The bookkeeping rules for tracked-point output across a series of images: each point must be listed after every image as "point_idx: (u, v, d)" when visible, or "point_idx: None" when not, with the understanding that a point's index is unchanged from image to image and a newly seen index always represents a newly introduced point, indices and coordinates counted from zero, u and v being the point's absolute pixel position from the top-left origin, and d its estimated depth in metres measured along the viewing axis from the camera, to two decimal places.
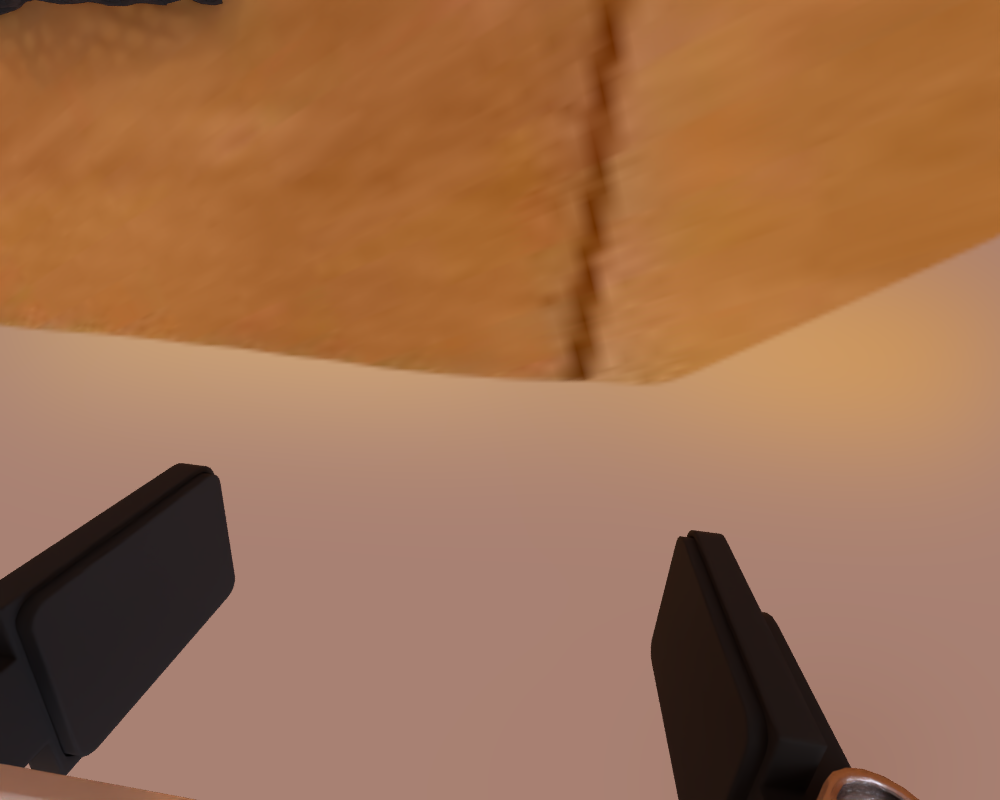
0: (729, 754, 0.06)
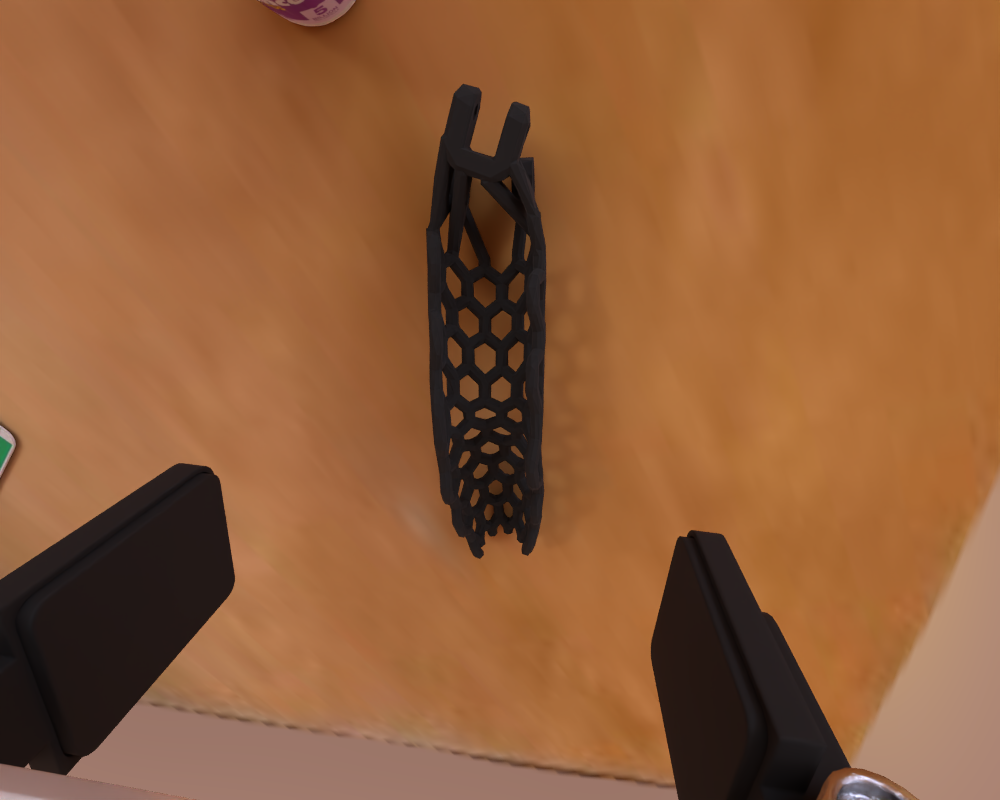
0: (729, 754, 0.06)
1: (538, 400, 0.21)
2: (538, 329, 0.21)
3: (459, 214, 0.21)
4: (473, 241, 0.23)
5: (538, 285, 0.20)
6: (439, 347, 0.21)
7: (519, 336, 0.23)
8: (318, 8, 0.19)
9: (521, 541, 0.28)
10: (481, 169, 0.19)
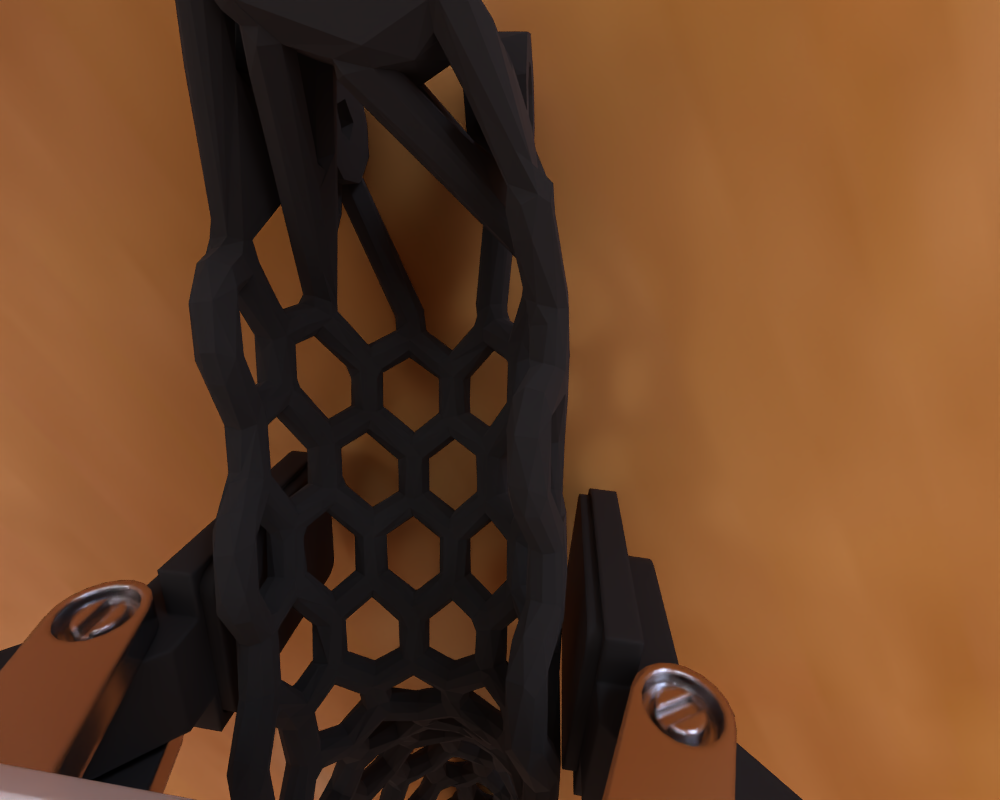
0: (580, 661, 0.07)
1: (547, 770, 0.07)
2: (546, 550, 0.07)
3: (303, 196, 0.07)
4: (378, 271, 0.09)
5: (546, 428, 0.06)
6: (241, 605, 0.07)
7: (497, 517, 0.09)
8: None
9: None
10: (324, 11, 0.05)
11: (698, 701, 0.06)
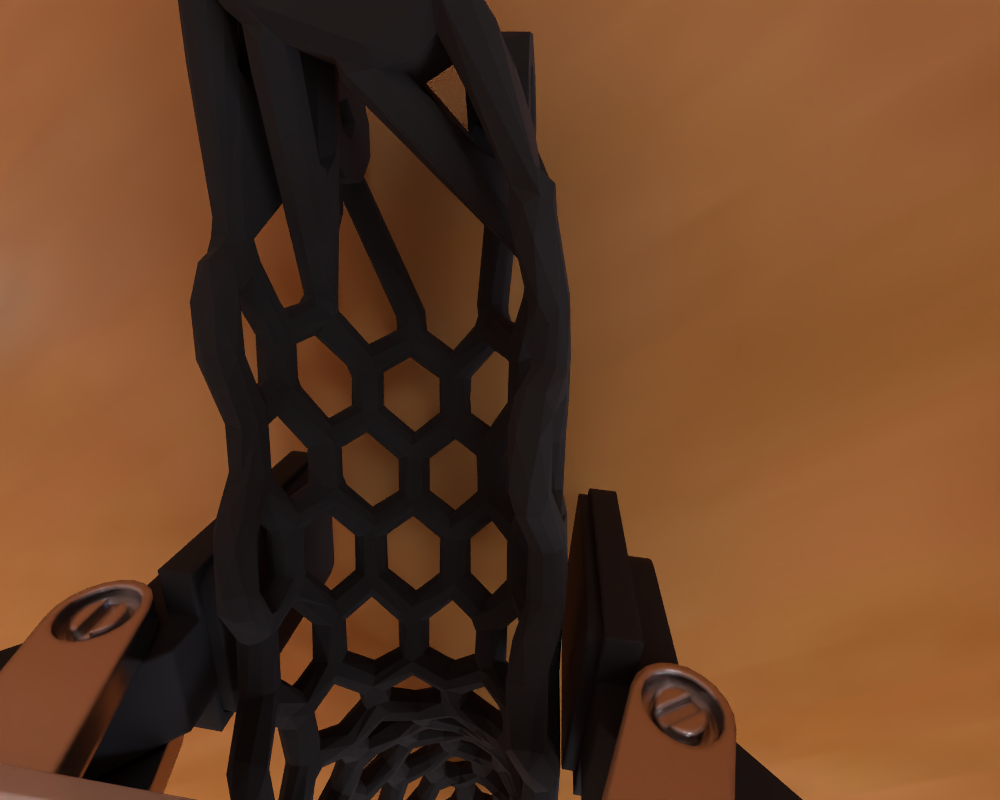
0: (579, 661, 0.07)
1: (547, 770, 0.07)
2: (548, 550, 0.07)
3: (304, 195, 0.07)
4: (379, 270, 0.09)
5: (547, 428, 0.06)
6: (241, 604, 0.07)
7: (497, 517, 0.09)
8: None
9: None
10: (328, 11, 0.05)
11: (697, 701, 0.06)
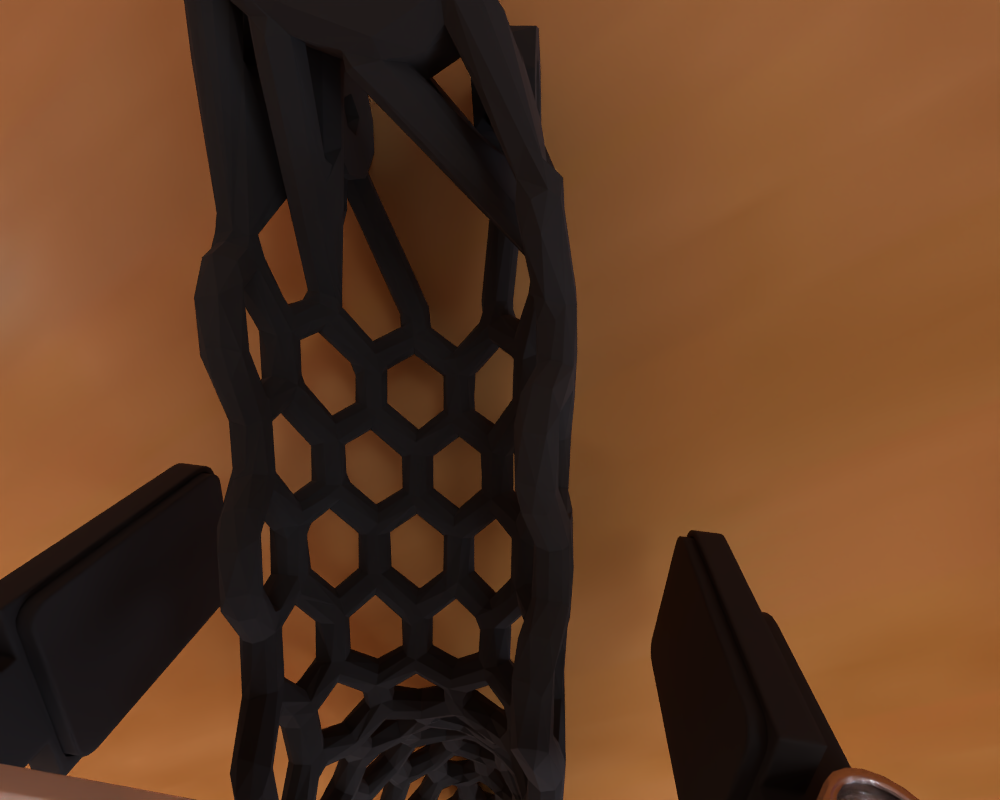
0: (729, 754, 0.06)
1: (552, 768, 0.07)
2: (553, 547, 0.07)
3: (309, 190, 0.07)
4: (383, 267, 0.09)
5: (554, 424, 0.06)
6: (245, 601, 0.07)
7: (501, 515, 0.09)
8: None
9: None
10: (335, 2, 0.05)
11: None
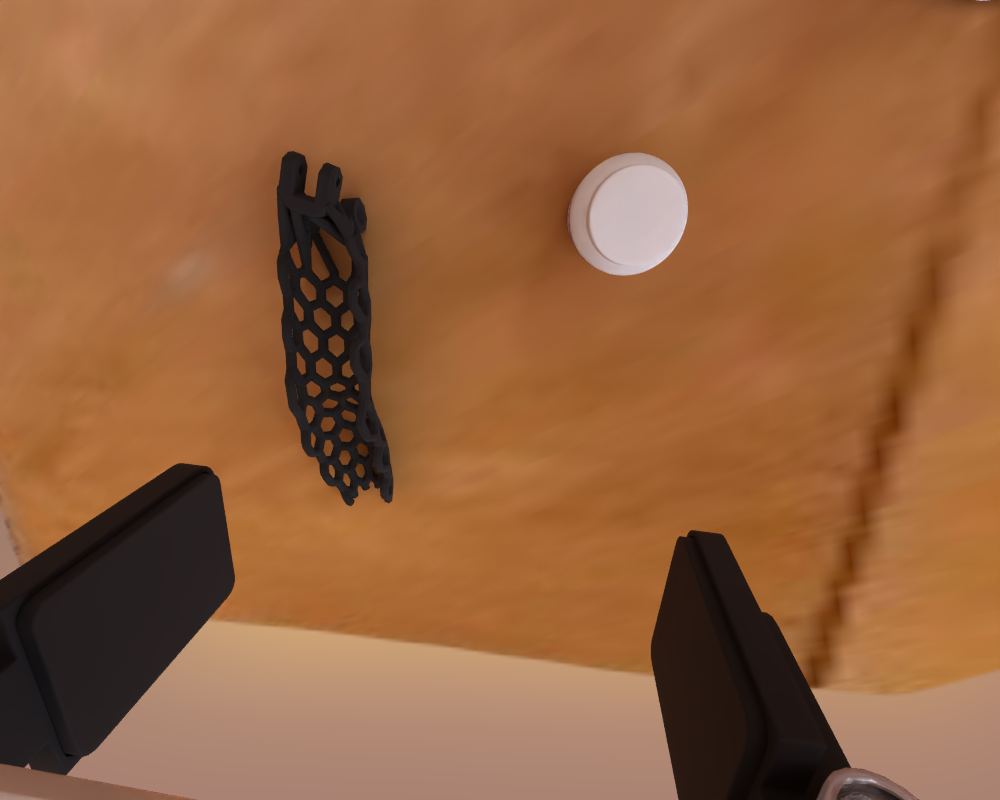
0: (729, 754, 0.06)
1: (360, 372, 0.28)
2: (360, 321, 0.28)
3: (302, 239, 0.29)
4: (323, 259, 0.31)
5: (355, 289, 0.28)
6: (288, 335, 0.28)
7: (357, 328, 0.30)
8: (570, 234, 0.28)
9: None
10: (306, 209, 0.27)
11: None
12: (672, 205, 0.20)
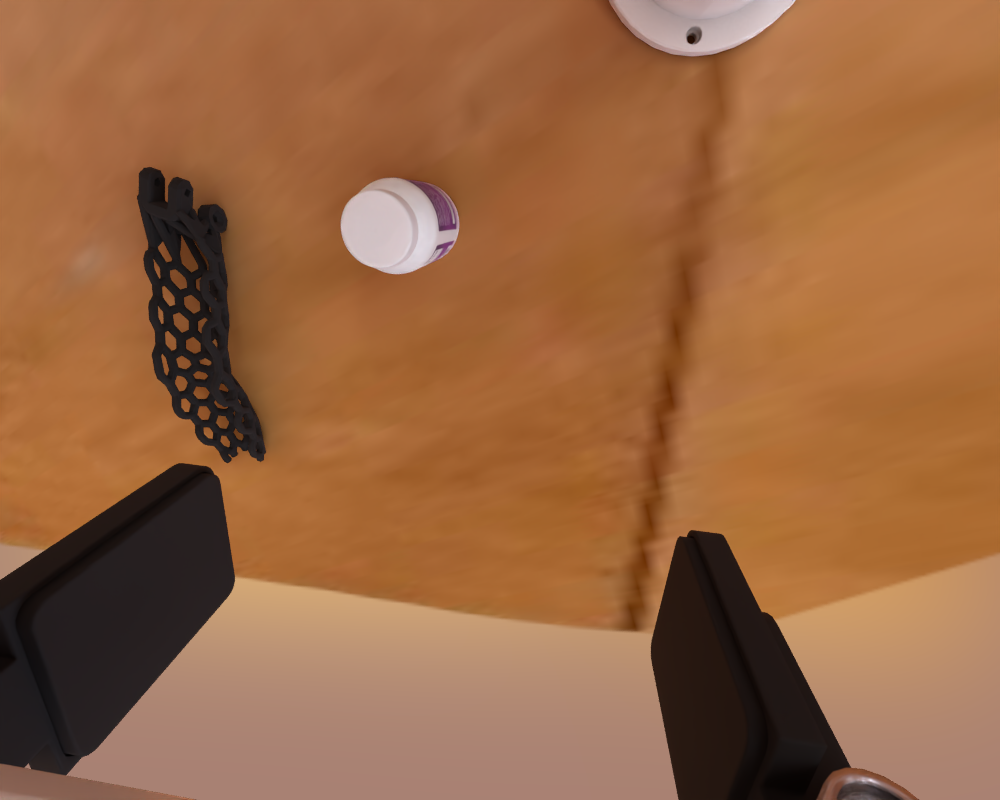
0: (729, 754, 0.06)
1: (212, 348, 0.35)
2: (212, 307, 0.35)
3: (166, 238, 0.35)
4: (192, 254, 0.37)
5: (205, 280, 0.34)
6: (153, 317, 0.35)
7: None
8: None
9: None
10: (161, 214, 0.33)
11: None
12: (399, 222, 0.26)
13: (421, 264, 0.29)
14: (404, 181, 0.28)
